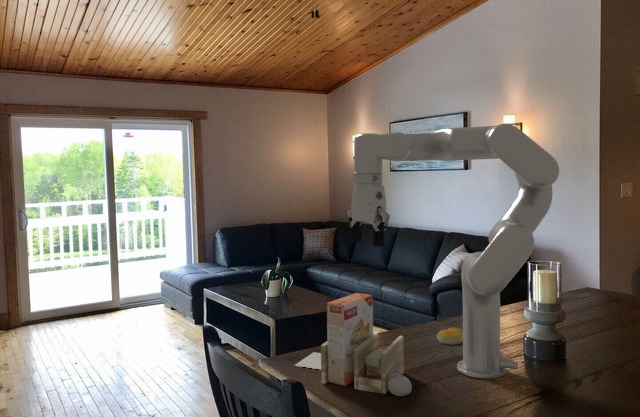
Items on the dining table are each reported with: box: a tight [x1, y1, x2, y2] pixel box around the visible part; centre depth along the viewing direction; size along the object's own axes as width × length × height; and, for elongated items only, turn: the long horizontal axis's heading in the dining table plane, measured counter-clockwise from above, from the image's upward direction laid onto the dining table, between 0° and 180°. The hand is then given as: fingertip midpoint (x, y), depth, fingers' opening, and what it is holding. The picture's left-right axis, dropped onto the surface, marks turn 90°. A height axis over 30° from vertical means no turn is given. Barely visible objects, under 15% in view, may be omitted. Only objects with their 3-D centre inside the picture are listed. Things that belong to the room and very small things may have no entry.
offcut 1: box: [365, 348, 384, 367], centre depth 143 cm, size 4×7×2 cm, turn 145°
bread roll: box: [436, 326, 463, 346], centre depth 175 cm, size 8×9×4 cm
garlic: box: [388, 373, 413, 397], centre depth 135 cm, size 6×5×5 cm
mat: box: [293, 352, 321, 371], centre depth 159 cm, size 10×12×1 cm
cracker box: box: [326, 292, 374, 387], centre depth 146 cm, size 14×6×21 cm, turn 144°
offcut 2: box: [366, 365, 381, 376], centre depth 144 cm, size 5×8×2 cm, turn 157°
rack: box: [320, 332, 405, 395], centre depth 145 cm, size 17×15×10 cm
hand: (367, 243), depth 150 cm, fingers open, 9 cm apart
